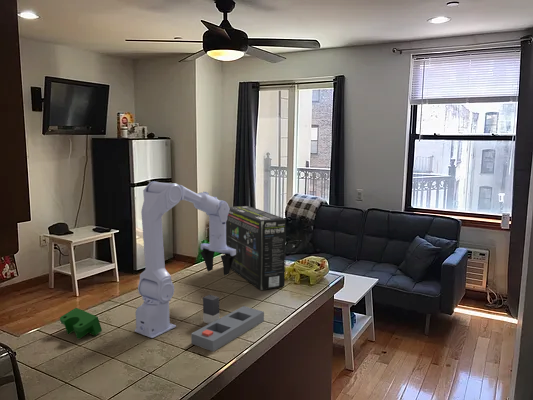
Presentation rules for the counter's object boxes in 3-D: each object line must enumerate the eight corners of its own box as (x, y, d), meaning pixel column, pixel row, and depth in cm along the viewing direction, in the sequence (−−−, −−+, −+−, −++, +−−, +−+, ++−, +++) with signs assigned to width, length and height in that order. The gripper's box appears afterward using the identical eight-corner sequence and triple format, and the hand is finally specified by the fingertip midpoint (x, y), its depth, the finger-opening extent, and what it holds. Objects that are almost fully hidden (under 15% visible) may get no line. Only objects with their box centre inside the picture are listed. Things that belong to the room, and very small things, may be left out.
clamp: (70, 345, 131) (55, 319, 130) (88, 333, 135) (73, 308, 134) (87, 343, 123) (71, 314, 122) (105, 330, 127) (90, 303, 126)
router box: (286, 287, 169) (287, 218, 165) (261, 291, 164) (261, 221, 159) (247, 262, 200) (247, 204, 196) (224, 265, 195) (224, 206, 191)
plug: (213, 325, 135) (212, 300, 134) (203, 321, 137) (203, 297, 136) (219, 321, 137) (219, 297, 136) (209, 318, 140) (209, 294, 138)
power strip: (213, 351, 119) (212, 339, 118) (191, 343, 123) (191, 331, 122) (264, 320, 138) (264, 309, 138) (243, 314, 143) (243, 304, 142)
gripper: (241, 234, 151) (241, 273, 153) (209, 229, 159) (210, 265, 161) (228, 238, 145) (228, 278, 147) (196, 233, 153) (196, 270, 155)
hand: (218, 272), depth 153 cm, fingers open, 7 cm apart
